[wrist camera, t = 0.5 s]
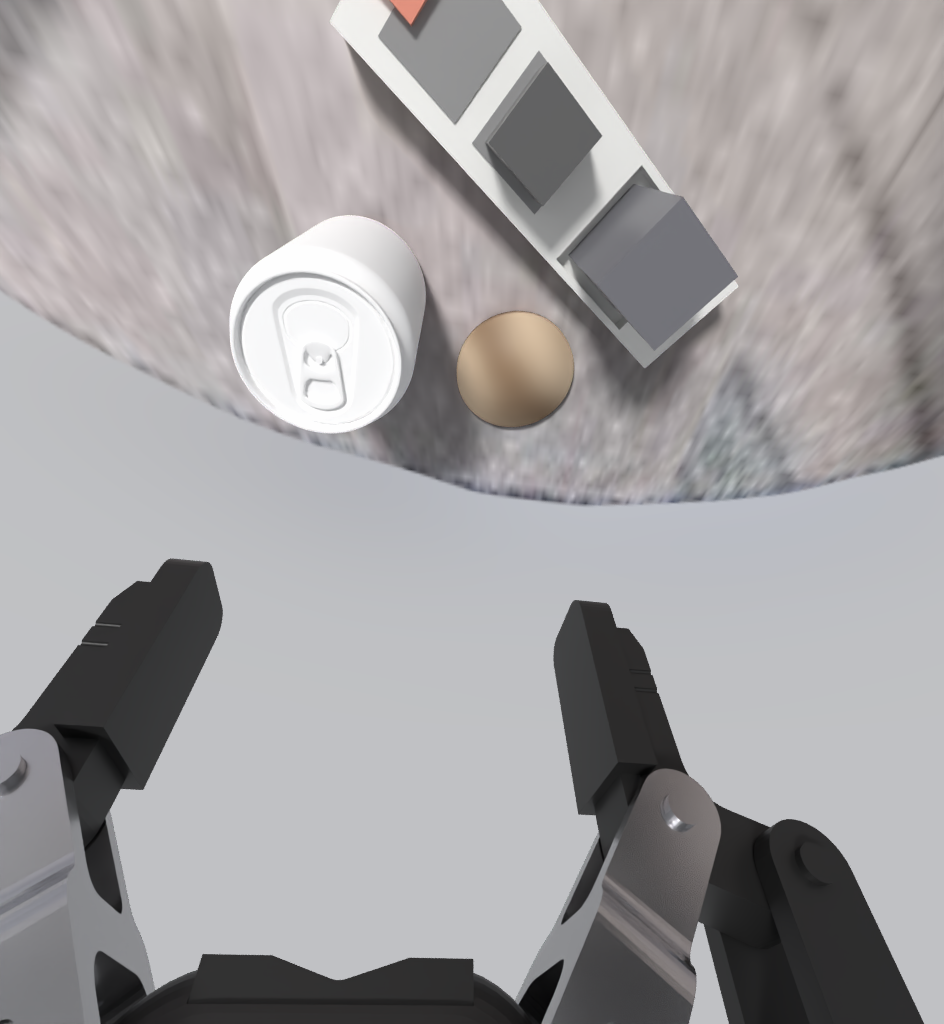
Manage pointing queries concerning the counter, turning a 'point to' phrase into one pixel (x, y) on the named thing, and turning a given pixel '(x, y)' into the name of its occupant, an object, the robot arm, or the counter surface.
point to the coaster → (514, 369)
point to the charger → (653, 262)
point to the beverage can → (330, 325)
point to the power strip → (574, 192)
